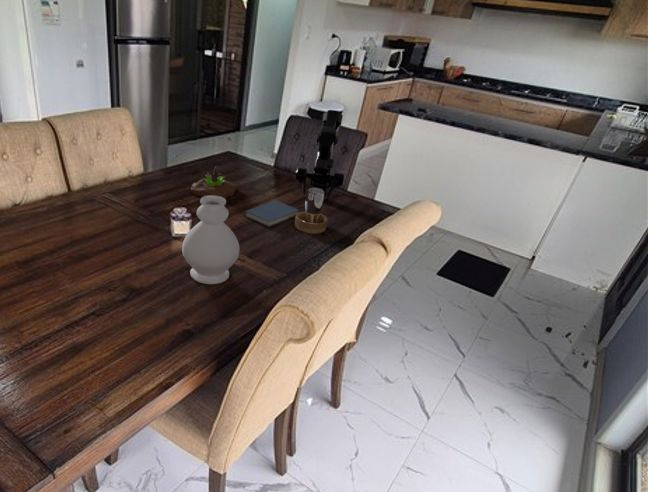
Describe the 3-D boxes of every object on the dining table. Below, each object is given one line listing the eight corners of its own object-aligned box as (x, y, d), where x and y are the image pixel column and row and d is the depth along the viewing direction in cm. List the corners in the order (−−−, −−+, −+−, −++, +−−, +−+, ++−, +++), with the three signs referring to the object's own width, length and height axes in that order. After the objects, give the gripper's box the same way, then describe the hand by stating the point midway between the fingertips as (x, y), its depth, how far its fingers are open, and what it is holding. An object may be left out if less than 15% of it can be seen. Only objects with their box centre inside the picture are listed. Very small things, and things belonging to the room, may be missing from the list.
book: (274, 205, 199) (275, 200, 198) (298, 215, 192) (299, 209, 190) (245, 216, 187) (245, 210, 186) (269, 227, 180) (270, 221, 179)
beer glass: (318, 224, 185) (324, 188, 177) (319, 231, 180) (326, 194, 171) (301, 222, 186) (306, 186, 177) (301, 229, 180) (307, 192, 172)
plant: (242, 188, 214) (244, 165, 208) (225, 202, 199) (226, 176, 193) (204, 180, 220) (205, 157, 214) (184, 192, 205) (185, 168, 199)
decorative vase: (195, 293, 137) (197, 216, 123) (173, 266, 150) (173, 192, 136) (247, 282, 144) (254, 207, 130) (222, 256, 157) (226, 186, 143)
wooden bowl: (288, 222, 185) (290, 213, 183) (314, 218, 190) (315, 209, 187) (305, 235, 176) (307, 225, 173) (331, 231, 181) (333, 221, 178)
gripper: (300, 146, 177) (292, 183, 174) (349, 153, 174) (341, 190, 171) (299, 161, 188) (292, 196, 185) (345, 167, 184) (338, 203, 181)
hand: (315, 196), depth 180 cm, fingers open, 9 cm apart
